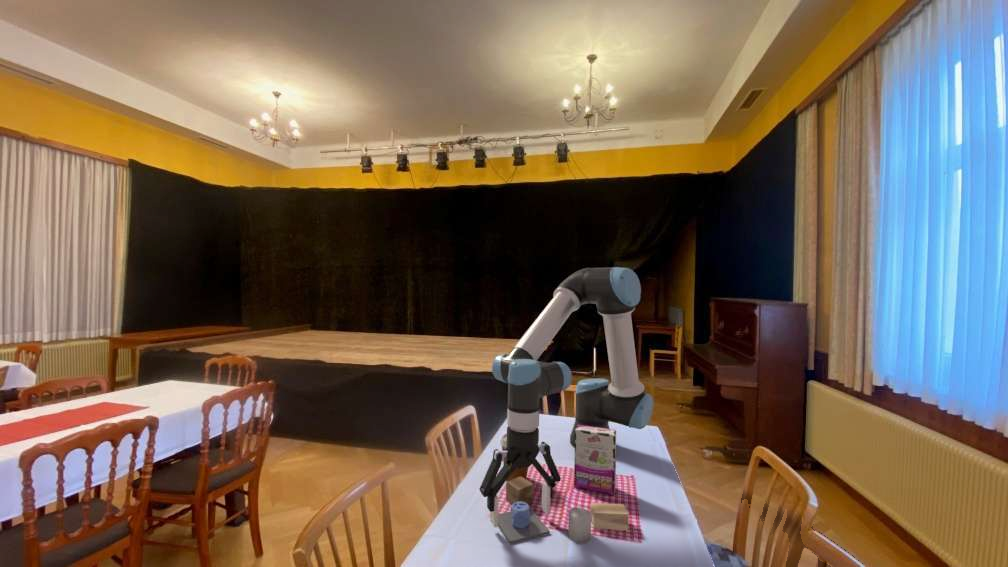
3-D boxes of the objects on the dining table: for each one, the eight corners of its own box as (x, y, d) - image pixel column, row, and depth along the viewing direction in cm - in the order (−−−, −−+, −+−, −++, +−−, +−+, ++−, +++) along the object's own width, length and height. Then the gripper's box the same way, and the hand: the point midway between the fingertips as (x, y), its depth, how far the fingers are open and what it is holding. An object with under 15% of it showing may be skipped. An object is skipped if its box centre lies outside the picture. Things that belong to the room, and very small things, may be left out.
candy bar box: (615, 487, 107) (617, 429, 107) (614, 496, 102) (616, 435, 103) (576, 479, 111) (577, 423, 111) (573, 487, 106) (574, 429, 106)
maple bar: (590, 519, 92) (590, 502, 92) (623, 520, 92) (623, 504, 92) (593, 529, 88) (594, 512, 88) (628, 531, 88) (628, 514, 88)
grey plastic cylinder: (582, 526, 89) (582, 505, 89) (595, 540, 84) (595, 517, 84) (564, 531, 87) (564, 510, 87) (576, 545, 82) (576, 522, 82)
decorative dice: (530, 528, 87) (530, 510, 87) (513, 529, 86) (513, 511, 86) (526, 517, 91) (527, 500, 91) (510, 518, 90) (510, 501, 90)
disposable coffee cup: (529, 489, 105) (530, 446, 105) (496, 485, 107) (497, 442, 107) (533, 473, 114) (534, 433, 114) (502, 469, 116) (504, 430, 116)
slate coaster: (529, 509, 95) (529, 507, 95) (549, 533, 86) (549, 531, 86) (492, 517, 91) (492, 515, 91) (509, 544, 82) (509, 541, 82)
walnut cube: (520, 494, 102) (520, 476, 102) (532, 503, 98) (533, 484, 98) (505, 500, 99) (506, 481, 99) (518, 510, 95) (518, 490, 95)
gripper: (560, 415, 97) (557, 498, 97) (467, 427, 88) (465, 519, 87) (576, 425, 90) (574, 515, 90) (478, 439, 81) (475, 540, 80)
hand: (520, 517), depth 89 cm, fingers open, 13 cm apart
